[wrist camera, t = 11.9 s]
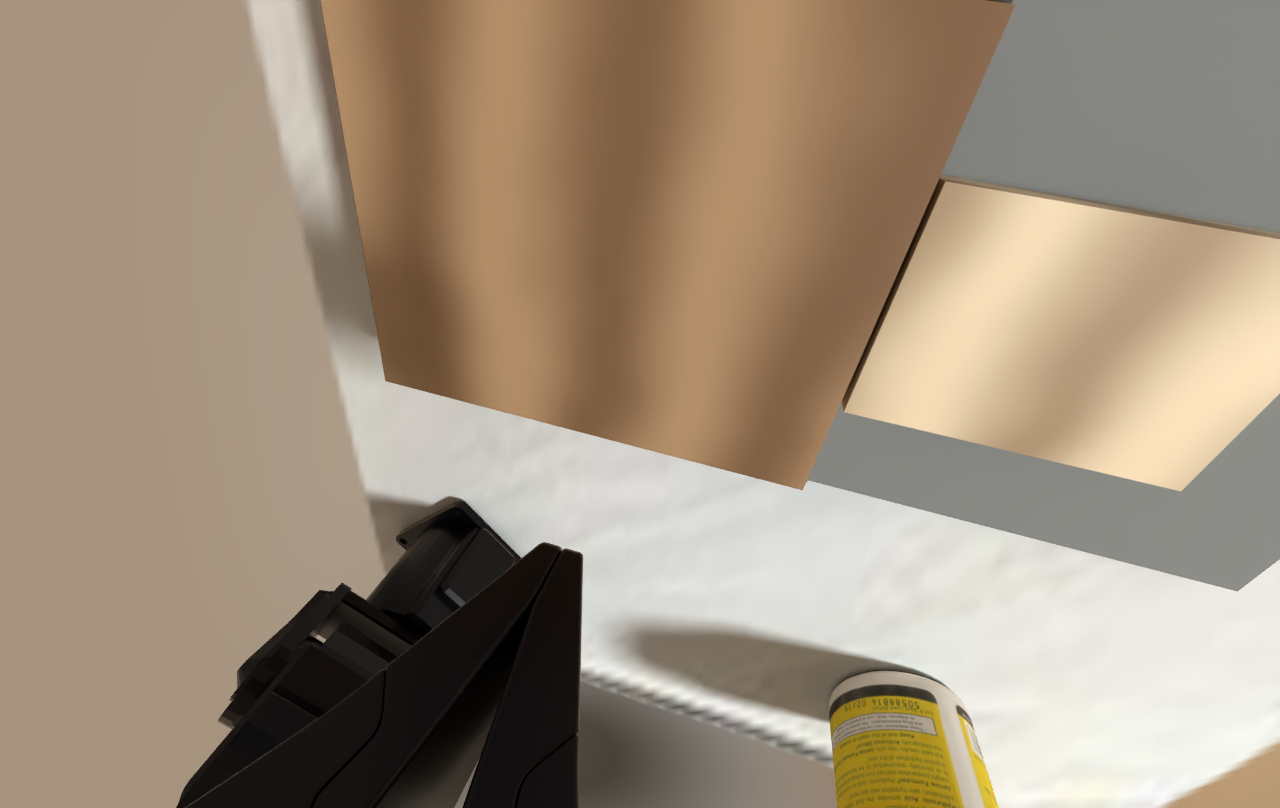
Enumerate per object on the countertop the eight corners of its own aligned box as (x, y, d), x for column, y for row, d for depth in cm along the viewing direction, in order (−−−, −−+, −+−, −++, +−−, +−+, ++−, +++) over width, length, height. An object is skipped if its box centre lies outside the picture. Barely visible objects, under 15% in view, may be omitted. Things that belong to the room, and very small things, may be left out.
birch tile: (837, 383, 18) (844, 411, 16) (925, 172, 14) (945, 181, 12) (1139, 452, 16) (1181, 491, 15) (1328, 241, 13) (1411, 262, 11)
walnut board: (428, 350, 22) (385, 381, 20) (384, -59, 15) (304, -92, 12) (799, 443, 20) (802, 490, 18) (968, 23, 13) (1015, 4, 10)
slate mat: (803, 464, 21) (804, 479, 20) (1010, -24, 12) (1027, -33, 11) (1217, 569, 19) (1237, 591, 18) (1815, 80, 10) (1906, 77, 9)
